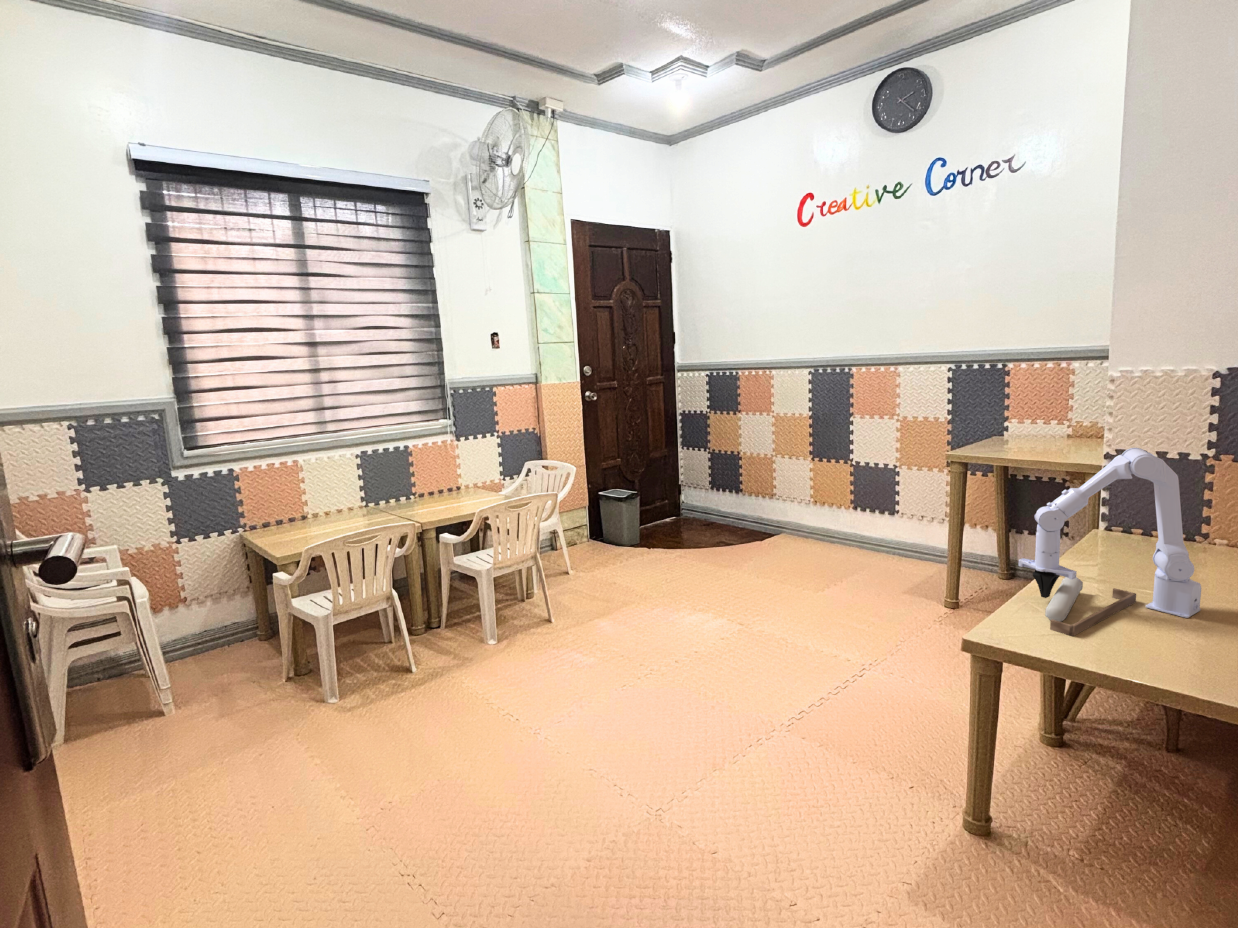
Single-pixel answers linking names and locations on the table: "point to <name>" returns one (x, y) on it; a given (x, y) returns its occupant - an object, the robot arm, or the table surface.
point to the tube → (1063, 599)
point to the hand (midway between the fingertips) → (1045, 596)
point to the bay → (1096, 614)
